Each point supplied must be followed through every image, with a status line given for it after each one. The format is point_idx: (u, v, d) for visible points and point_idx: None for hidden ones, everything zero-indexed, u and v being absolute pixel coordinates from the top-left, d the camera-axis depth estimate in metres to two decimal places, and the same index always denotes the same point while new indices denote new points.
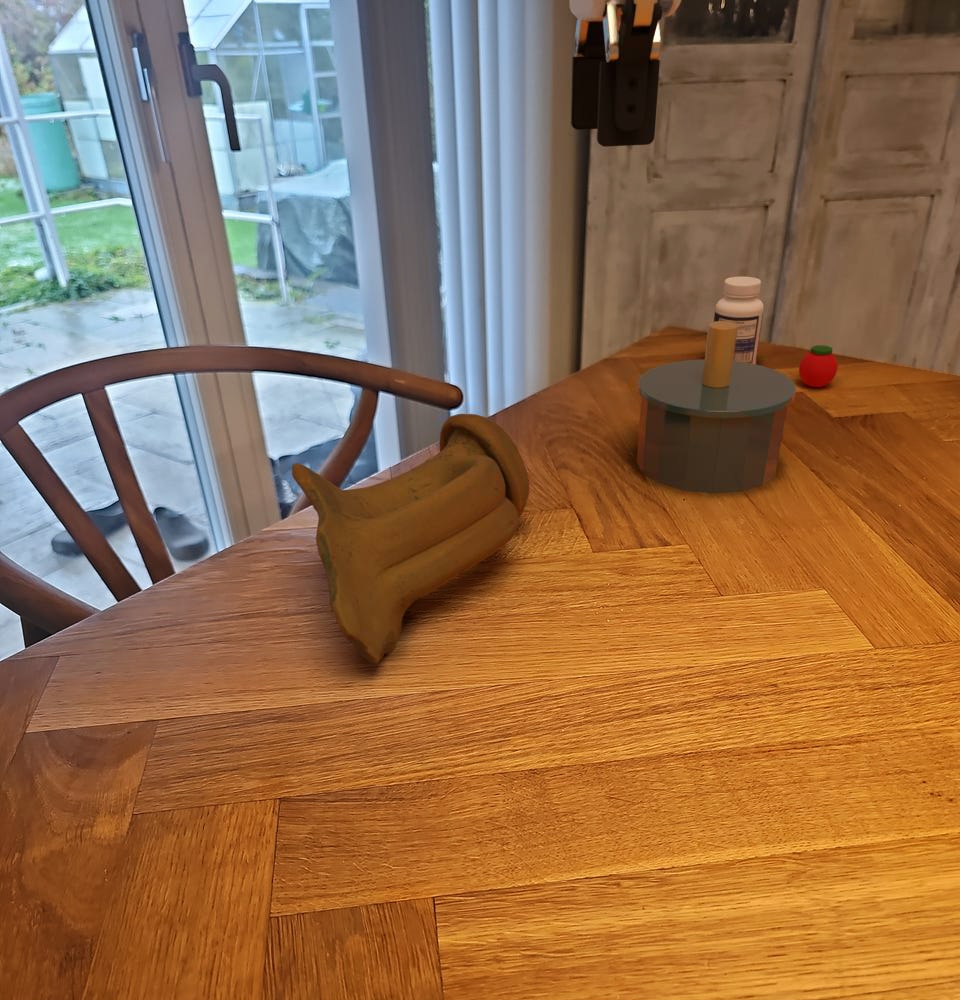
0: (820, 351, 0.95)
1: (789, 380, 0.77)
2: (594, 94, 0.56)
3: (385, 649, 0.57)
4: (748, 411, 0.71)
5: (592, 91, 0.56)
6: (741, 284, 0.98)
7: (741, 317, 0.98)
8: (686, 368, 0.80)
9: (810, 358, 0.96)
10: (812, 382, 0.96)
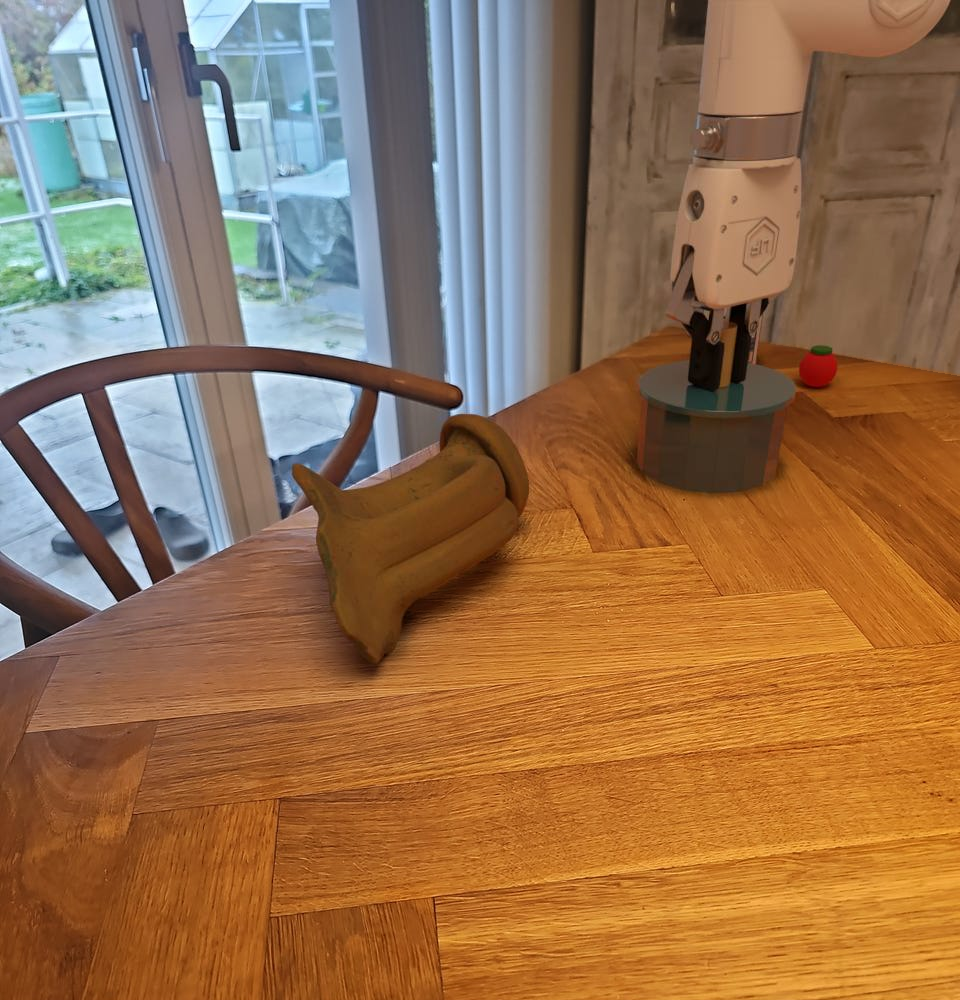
0: (820, 351, 0.95)
1: (789, 380, 0.76)
2: None
3: (385, 649, 0.57)
4: (748, 411, 0.71)
5: None
6: None
7: None
8: (686, 368, 0.80)
9: (810, 358, 0.96)
10: (812, 382, 0.96)
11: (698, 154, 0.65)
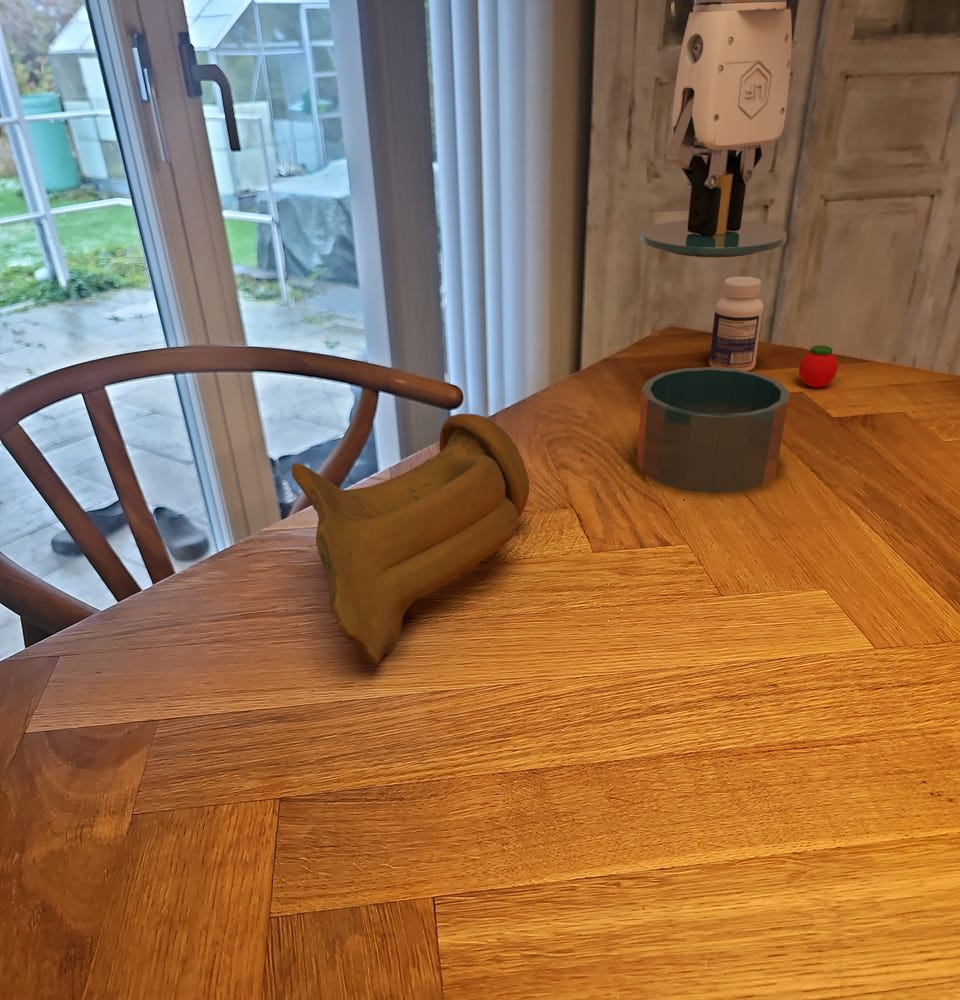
0: (820, 351, 0.95)
1: (780, 230, 0.83)
2: None
3: (385, 649, 0.57)
4: (742, 247, 0.78)
5: None
6: (741, 284, 0.97)
7: (741, 317, 0.98)
8: (686, 224, 0.86)
9: (810, 358, 0.96)
10: (812, 382, 0.96)
11: (698, 1, 0.72)
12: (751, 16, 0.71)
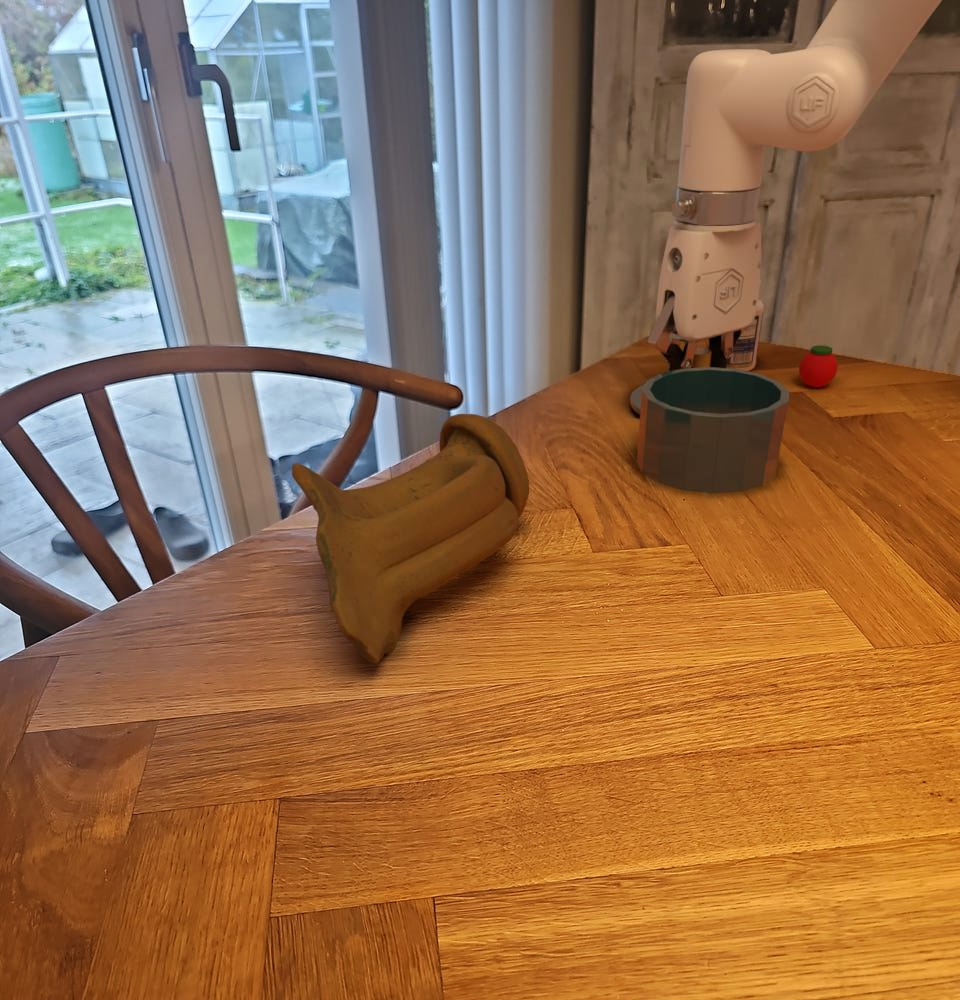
0: (820, 351, 0.95)
1: None
2: None
3: (385, 649, 0.57)
4: None
5: None
6: None
7: None
8: None
9: (810, 358, 0.96)
10: (812, 382, 0.96)
11: (677, 219, 0.82)
12: (724, 235, 0.81)
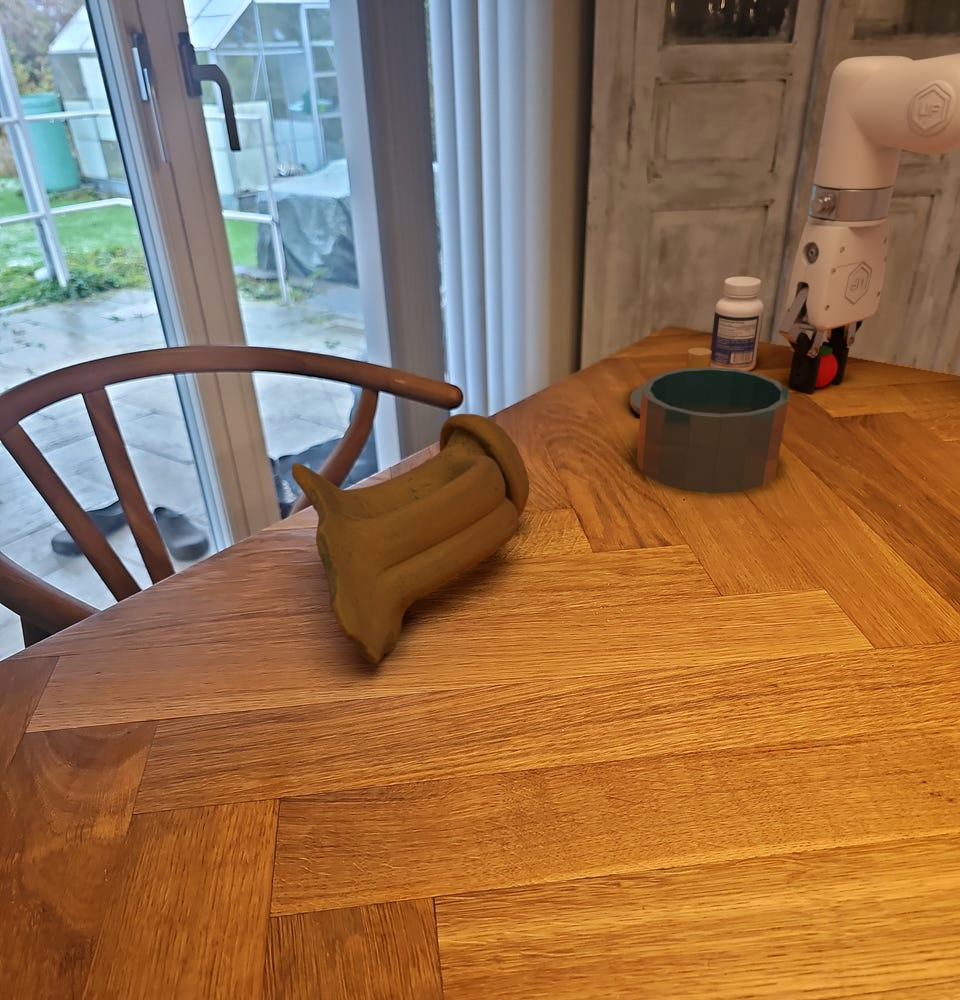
0: (819, 352, 0.95)
1: None
2: None
3: (385, 649, 0.57)
4: None
5: None
6: (741, 284, 0.98)
7: (741, 317, 0.98)
8: None
9: None
10: None
11: (814, 215, 0.87)
12: (859, 229, 0.86)
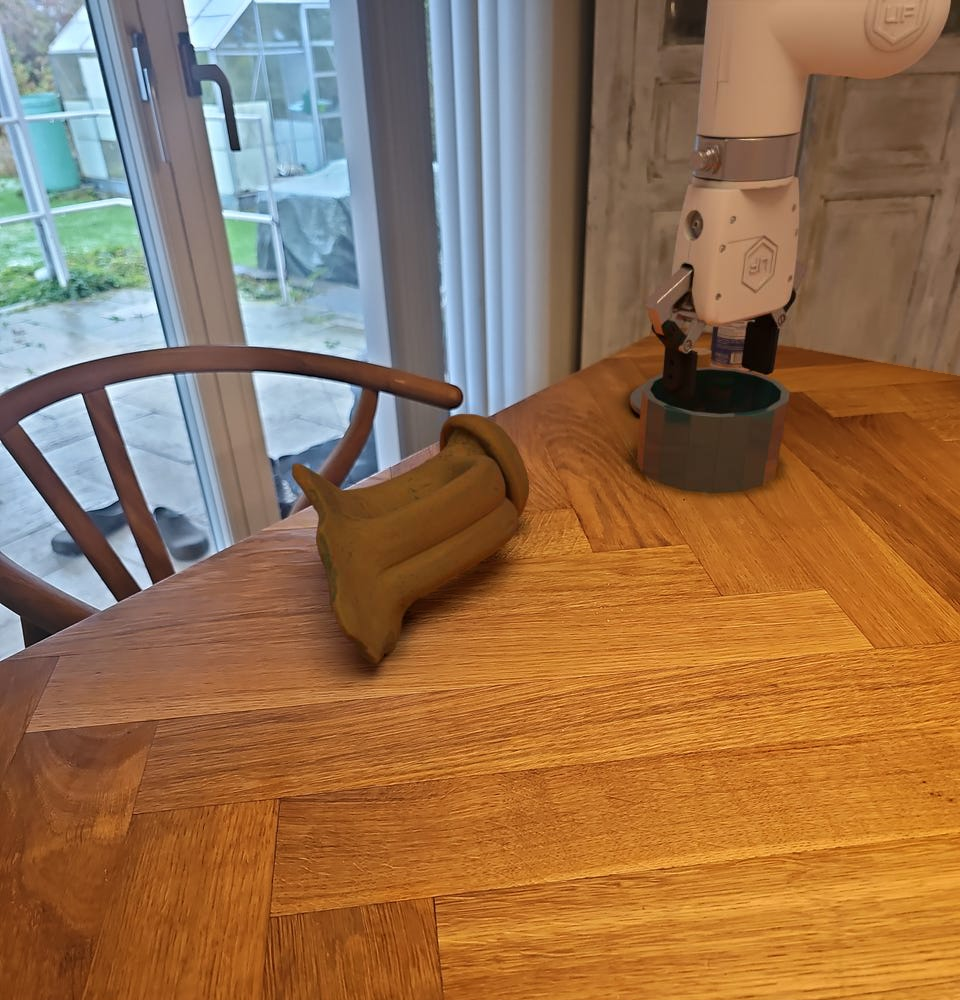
0: None
1: None
2: (754, 349, 0.77)
3: (385, 649, 0.57)
4: None
5: (753, 347, 0.77)
6: None
7: None
8: None
9: None
10: None
11: (697, 175, 0.66)
12: (755, 193, 0.65)
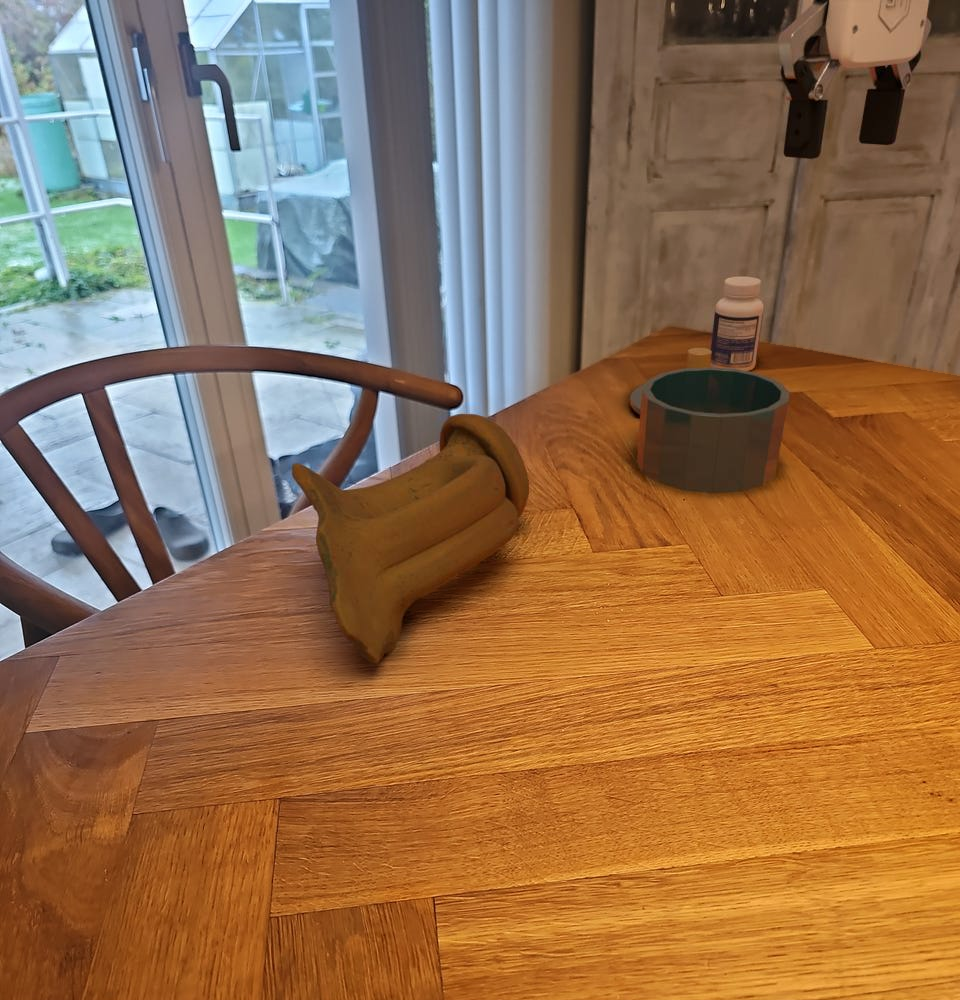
0: None
1: None
2: (875, 118, 0.74)
3: (385, 649, 0.57)
4: None
5: (874, 115, 0.74)
6: (741, 284, 0.98)
7: (741, 317, 0.98)
8: None
9: None
10: None
11: None
12: None
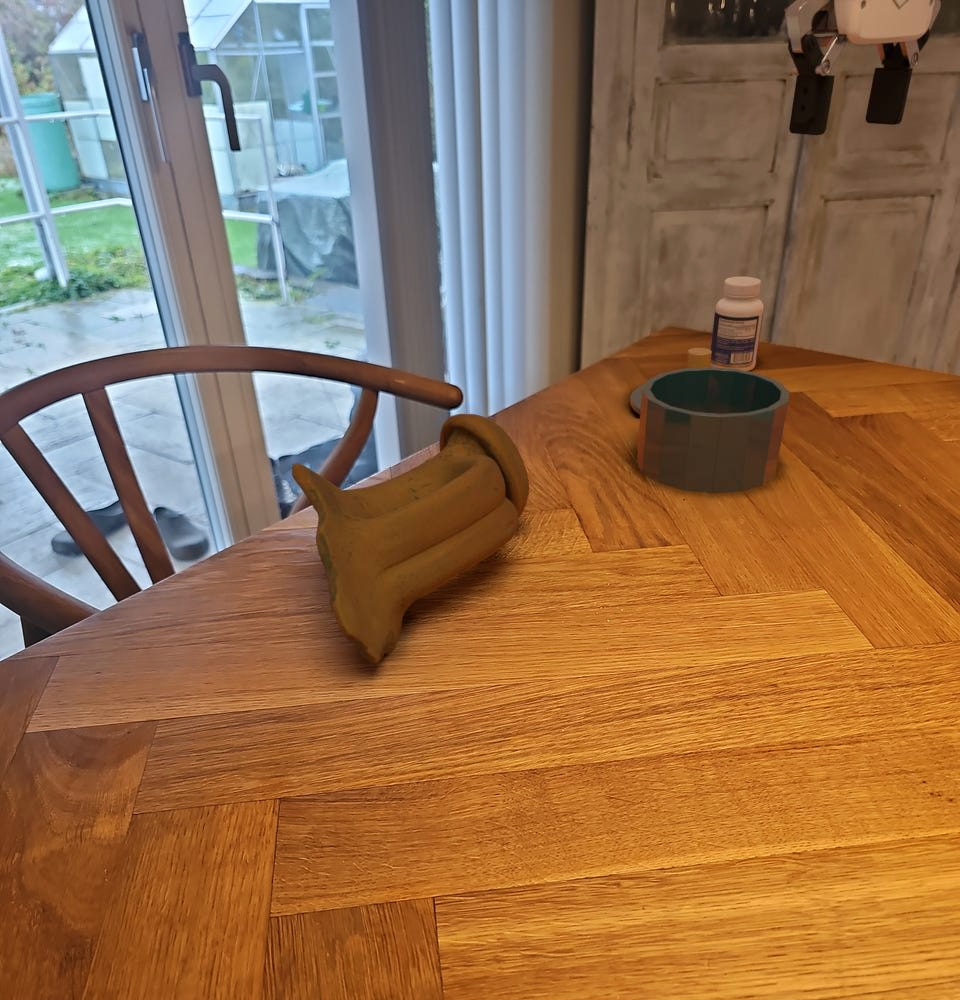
0: None
1: None
2: (882, 97, 0.74)
3: (385, 649, 0.57)
4: None
5: (881, 94, 0.74)
6: (741, 284, 0.98)
7: (741, 317, 0.98)
8: None
9: None
10: None
11: None
12: None
